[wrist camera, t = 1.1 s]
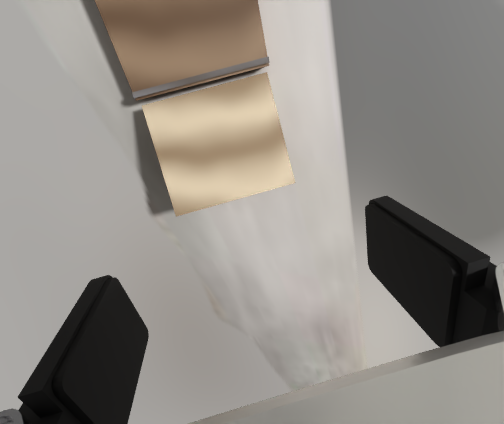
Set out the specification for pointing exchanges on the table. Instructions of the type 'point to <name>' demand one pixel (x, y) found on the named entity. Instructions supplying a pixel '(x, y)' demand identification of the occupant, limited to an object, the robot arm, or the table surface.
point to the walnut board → (183, 41)
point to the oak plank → (219, 143)
